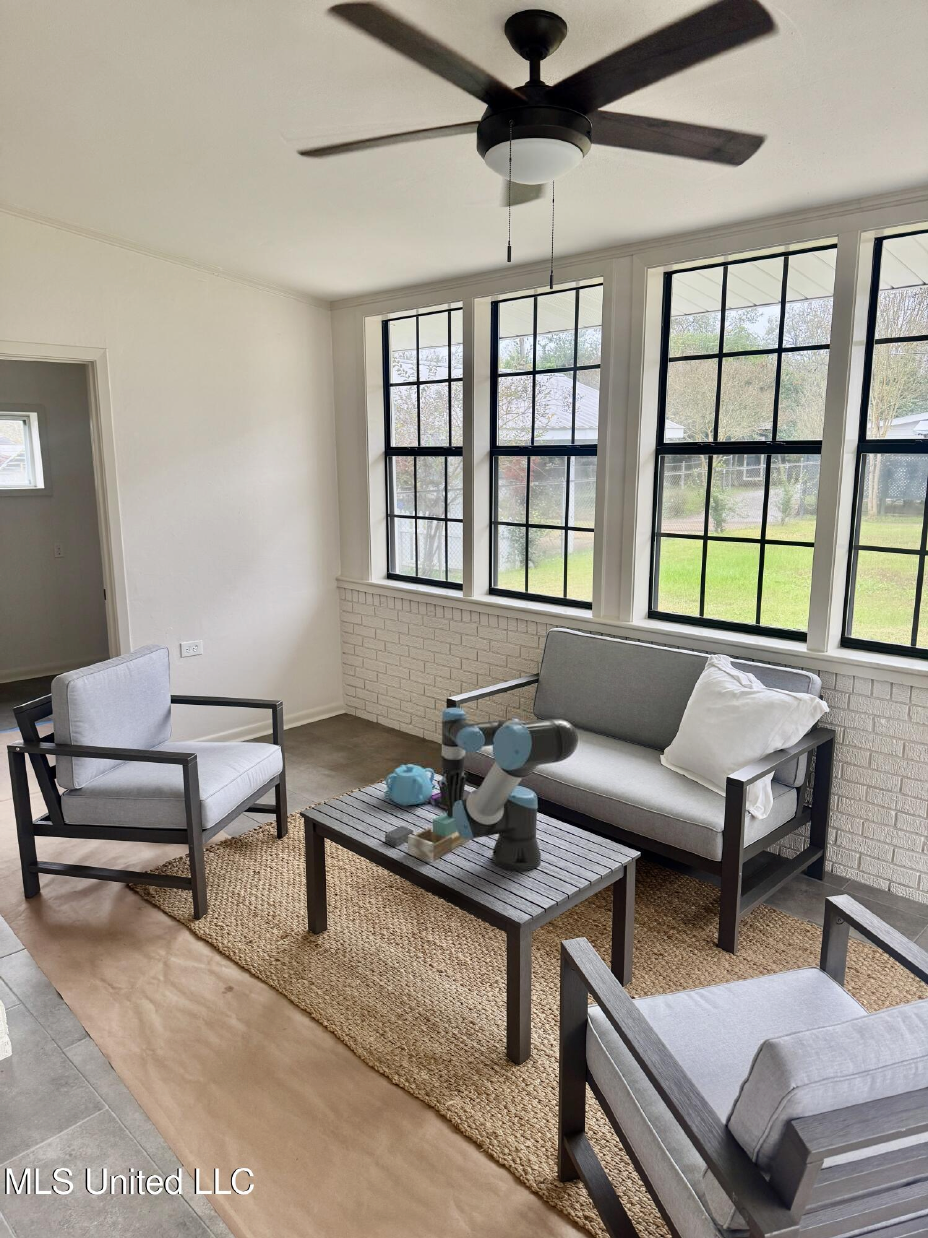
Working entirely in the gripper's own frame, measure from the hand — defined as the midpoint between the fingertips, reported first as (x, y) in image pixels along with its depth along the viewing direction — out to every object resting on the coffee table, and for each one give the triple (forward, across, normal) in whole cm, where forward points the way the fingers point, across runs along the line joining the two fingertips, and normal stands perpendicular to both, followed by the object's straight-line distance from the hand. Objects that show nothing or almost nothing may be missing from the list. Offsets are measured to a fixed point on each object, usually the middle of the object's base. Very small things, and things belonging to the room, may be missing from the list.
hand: (452, 824), depth 264 cm
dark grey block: (+6, +12, -13) cm, 18 cm away
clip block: (+2, +4, 0) cm, 4 cm away
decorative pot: (+6, -14, -32) cm, 36 cm away
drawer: (+6, +6, 0) cm, 8 cm away
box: (+6, -23, -16) cm, 29 cm away
